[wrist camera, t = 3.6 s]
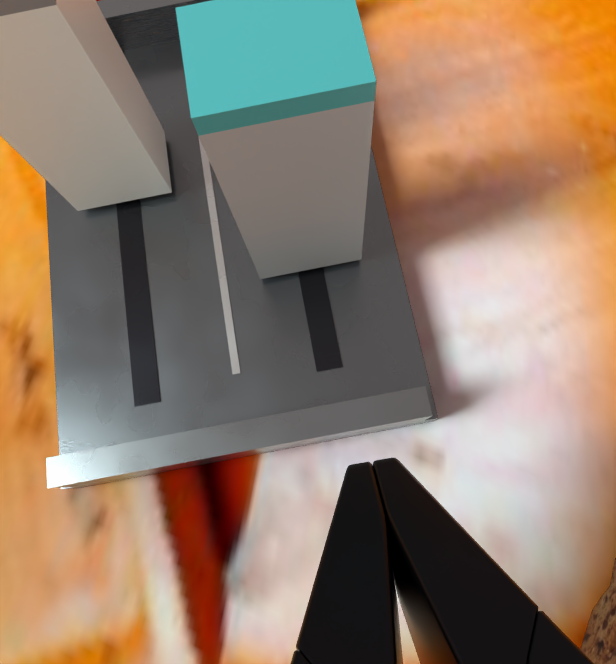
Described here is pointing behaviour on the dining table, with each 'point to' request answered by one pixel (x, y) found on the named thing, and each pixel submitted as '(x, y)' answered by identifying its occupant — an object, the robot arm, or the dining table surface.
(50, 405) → the dining table surface
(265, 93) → the fader turquoise
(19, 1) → the fader white
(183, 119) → the console
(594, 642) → the bread
